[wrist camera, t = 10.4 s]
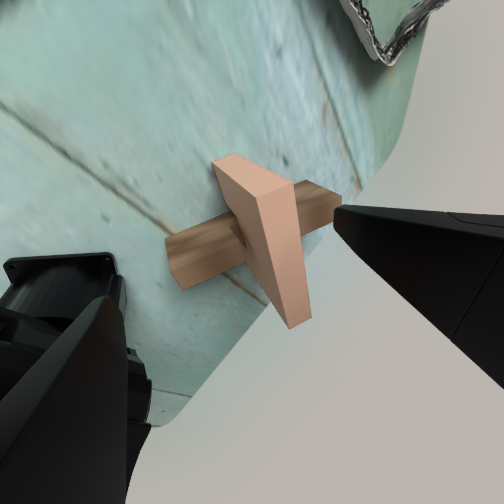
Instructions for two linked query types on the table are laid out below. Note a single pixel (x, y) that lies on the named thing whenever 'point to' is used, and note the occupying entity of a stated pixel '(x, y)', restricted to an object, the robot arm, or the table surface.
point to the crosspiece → (268, 232)
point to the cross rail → (238, 237)
